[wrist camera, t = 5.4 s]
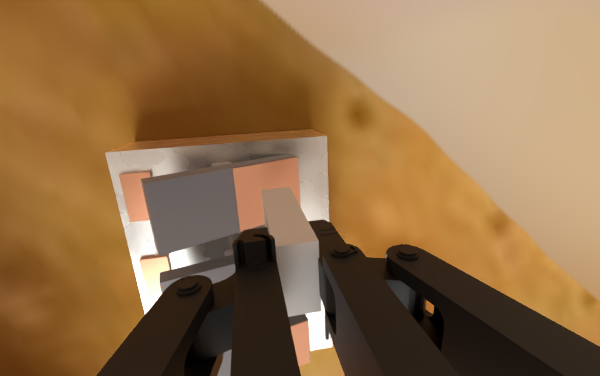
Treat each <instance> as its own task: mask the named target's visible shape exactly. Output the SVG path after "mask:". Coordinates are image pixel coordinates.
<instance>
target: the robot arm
mask: <svg viewBox="0 0 600 376" xmlns="http://www.w3.org/2000/svg"><path fill="white" fill-rule="evenodd" d="M261 191H262V201H263V212H264V223H265V227H264V228H256V229H248V230H244V231H243V232H242V233H241V234H240V235H239V237H238V238H237V239H236V240H234V242H233V244H232V246H233V254H234V261H235V273H234V274H233V275H231V276H230V277H228V278H227V279H225V280H222V281H220V282H217V283H214V284H212V281H211V279H210V278H208V277H206V276H203V275H193V276H191V275H190V276H186V277H183V278H180V279H179V280H177V281H175V282H173V283H172V284H170V285H169V286H168V287H167V288H166V289H165V290H164V292H163V293H162V294H161V295H160V297H159V298H158V299H157V301H156V302H155V303H154V304H153V306H152V307H151V308H150V309H149V311H148V312H147V313H146V314H145V316H144V317H143V318H142V319H141V321H140V322H139V323H138V324H137V326H136V327H135V328H134V329H133V331H132V332H131V333H130V334H129V336H128V337H127V338H126V339H125V341H124V342H123V343H122V344H121V346H120V347H119V348H118V349H117V351H116V352H115V353H114V354H113V356H112V357H111V358H110V359H109V361H108V362H107V363H106V364H105V366H104V367H103V368H102V369H101V371H100V372H99V373H98V374H97V376H217V375H218V372H219V369H220V367H221V364H222V361H223V353H224V352H227V351H229V350H231V349H232V350H231V371H230V376H301V374H300V370H299V365H298V360H297V355H296V351H295V346H294V341H293V336H292V332H291V327H290V322H289V318H288V317H290V316H296V315H302V314H308V313H314V312H319V311H321V300H322V302H323V305H324V312H325V337H326V340H328V339H329V333H330V336H331V339H332V341H333V344H334V347H335V349H336V352H337V355H338V358H339V360H340V363H341V366H342V369H343V371H344V374H345V376H600V347H599V346H597V345H596V344H594V343H592V342H590V341H588V340H586V339H585V338H583V337H581V336H579V335H577V334H576V333H574V332H572V331H570V330H568V329H566V328H565V327H563V326H561V325H559V324H557V323H556V322H554V321H552V320H550V319H548V318H546V317H545V316H543V315H541V314H539V313H537V312H536V311H534V310H532V309H530V308H528V307H526V306H525V305H523V304H521V303H519V302H517V301H516V300H514V299H512V298H510V297H508V296H506V295H505V294H503V293H501V292H499V291H497V290H496V289H494V288H492V287H490V286H488V285H486V284H485V283H483V282H481V281H479V280H477V279H476V278H474V277H472V276H470V275H468V274H466V273H465V272H463V271H461V270H459V269H457V268H456V267H454V266H452V265H450V264H448V263H446V262H445V261H443V260H441V259H439V258H437V257H436V256H434V255H432V254H430V253H428V252H426V251H425V250H423V249H420V248H418V247H415V246H410V245H406V244H405V245H404V244H402V245H396V246H392V247H390V248H388V250H387V251H386V258H370V257H366V256H365V255H364V254H363V252H362V251H361V250H360V249H359V248H358V247H356V246H353V245H351V244H346V243H345V242H344V240H343V239H342V238H341V236H340V235H339V234H338V232H337V231H336V229H335V228H334V226H333V225H332V224H331V223H330V222H328V221H326V220H324V219H323V220H315V221H308V220H307V218H306V216H305V215H304V213H303V211H302V209H301V207H300V205H299V203H298V202H297V200H296V198H295V196H294V194H293V192H292V191H291V189H290V187H283V188H273V189H263V190H261ZM426 300H428V301H429V302H430V303H432V304H433V305H434V313H433V314H431V313H430V312H428V311H427V310H426V309H425V307H426Z"/></svg>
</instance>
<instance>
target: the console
mask: <svg viewBox="0 0 600 376" xmlns="http://www.w3.org/2000/svg"><path fill="white" fill-rule="evenodd" d="M105 154H106V158H107V162H108V166H109V170H110V174H111V179H112V183H113V187H114V191H115V195H116V199H117V203H118V207H119V211H120V215H121V219H122V223H123V227H124V231H125V235H126V239H127V243H128V247H129V251H130V255H131V259H132V263H133V267H134V272H135V276H136V280H137V284H138V288H139V292H140V296H141V300H142V304H143V308H144V312H145V314H146V313H147V312H148V311H149V309H150V308H151V307H152V306H153V304H154V303H155V302H156V301H157V299H158V298H159V297H160V295H161V294H162V292H161V288H160V272H164V271H168V270H172V269H176V268H180V267H184V266H188V265H192V264H197V263H201V262H205V261H209V260H213V259H217V258H221V257H225V255H224V252H225V251H226V250H227V249H229V248H232V247H233V246H232V244H233V242H234V240H236V239H237V238H238V237H239V235H240V234H241V233H242V232H243V231H242V232H239V233H235V234H232V235H229V236H226V237H222V238H219V239H216V240H212V241H209V242H206V243H202V244H199V245H196V246H192V247H189V248H186V249H182V250H179V251H176V252H173V253H169V254H166V255H163V256H159V254H158V252H157V250H156V247H155V242H154V238H153V233H152V229H151V224H150V219H149V215H148V210H147V206H146V201H145V196H144V192H143V187H142V183H141V179H143V178H149V177H154V176H160V175H166V174H172V173H178V172H184V171H190V170H196V169H201V168H207V167H212V164H213V163H217V162H226V161H227V162H232V163H237V162H242V161H248V160H254V159H260V158H266V157H272V156H278V155H283V154H291V155H296V156H298V168H299V186H300V205H301V209H302V211H303V213H304V215H305V216H306V218H307V220H308V221H315V220H323V219H324V220H326V221H328V222H329V195H328V155H327V136H326V135H324V134H322V133H320V132H318V131H315V130H313V129H304V130H290V131H276V132H262V133H248V134H233V135H219V136H205V137H191V138H177V139H163V140H148V141H135V142H132V143H129V144H126V145H124V146H121V147H118V148H116V149H113V150H110V151H108V152H105ZM264 227H265V225H262V226H259V227H255V228H252V229H256V228H264ZM305 315H306V316H307V318H308V320H309V339H310V351H313V350H318V349H324V348H329V347H332V339H331V336H330V333H329V339H328V340H326V337H325V312H324V305H323V302H322V300H321V311H319V312H314V313H308V314H305Z"/></svg>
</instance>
